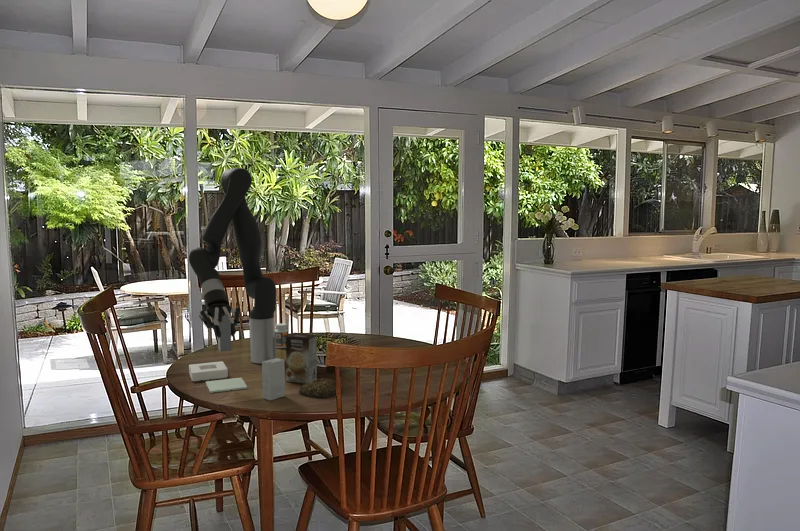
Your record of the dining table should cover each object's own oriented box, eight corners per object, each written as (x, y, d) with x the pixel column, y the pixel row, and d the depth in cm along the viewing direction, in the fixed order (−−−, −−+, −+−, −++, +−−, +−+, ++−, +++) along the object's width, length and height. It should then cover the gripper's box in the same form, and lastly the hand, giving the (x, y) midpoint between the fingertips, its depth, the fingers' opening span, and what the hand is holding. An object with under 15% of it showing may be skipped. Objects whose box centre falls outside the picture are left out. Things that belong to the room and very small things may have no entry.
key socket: (223, 369, 227) (222, 361, 226) (227, 377, 216) (227, 369, 216) (189, 372, 222) (188, 364, 222) (192, 381, 211) (192, 373, 211)
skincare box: (277, 393, 197) (276, 357, 196) (286, 396, 194) (285, 359, 193) (261, 398, 193) (260, 360, 191) (270, 401, 190) (269, 363, 189)
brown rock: (323, 401, 191) (323, 385, 191) (293, 394, 197) (293, 379, 197) (348, 390, 202) (348, 375, 201) (318, 384, 208) (318, 370, 208)
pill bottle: (285, 349, 258) (284, 325, 257) (272, 348, 260) (272, 325, 259) (290, 345, 264) (289, 323, 263) (277, 345, 265) (277, 322, 264)
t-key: (229, 347, 208) (228, 313, 207) (231, 351, 203) (230, 315, 202) (218, 348, 206) (217, 313, 205) (220, 352, 202) (219, 316, 201)
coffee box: (285, 381, 211) (284, 336, 209) (294, 376, 217) (293, 332, 215) (309, 384, 208) (308, 337, 206) (317, 379, 214) (317, 334, 212)
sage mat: (241, 379, 214) (241, 377, 214) (247, 388, 203) (247, 386, 203) (205, 383, 209) (205, 381, 209) (210, 393, 198) (209, 391, 198)
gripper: (195, 289, 205) (207, 331, 196) (236, 286, 213) (249, 326, 204) (191, 303, 210) (202, 344, 201) (232, 300, 218) (244, 339, 209)
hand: (226, 335), depth 203 cm, fingers closed on t-key, 4 cm apart
